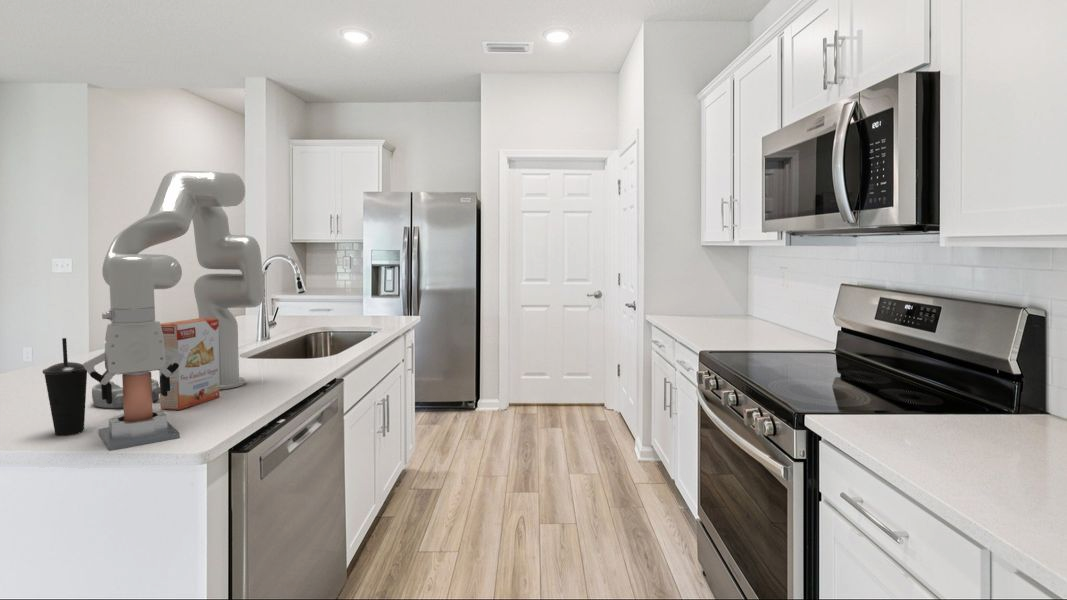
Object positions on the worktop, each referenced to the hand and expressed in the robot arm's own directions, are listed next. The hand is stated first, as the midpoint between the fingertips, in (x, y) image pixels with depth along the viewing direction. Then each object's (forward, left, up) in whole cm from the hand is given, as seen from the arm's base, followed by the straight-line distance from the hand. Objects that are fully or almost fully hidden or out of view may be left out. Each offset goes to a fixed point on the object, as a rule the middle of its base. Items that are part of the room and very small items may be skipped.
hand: (137, 398), depth 125 cm
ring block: (0, 0, -8) cm, 8 cm away
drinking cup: (-12, -10, -8) cm, 18 cm away
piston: (0, 0, -7) cm, 7 cm away
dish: (-33, +3, -8) cm, 34 cm away
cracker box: (-22, +15, -8) cm, 28 cm away
